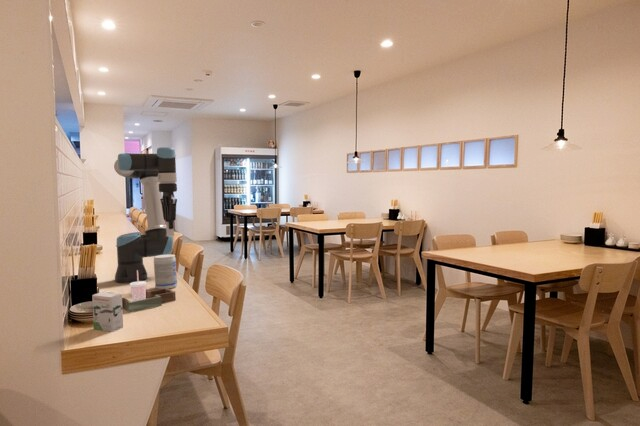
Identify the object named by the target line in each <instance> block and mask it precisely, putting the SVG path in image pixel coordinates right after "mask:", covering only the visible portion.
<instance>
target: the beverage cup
mask: <svg viewBox="0 0 640 426" xmlns="http://www.w3.org/2000/svg"><path fill="white" fill-rule="evenodd" d="M129 286H130V292H131V299H132V301H131V302H133V301H138V300H143V299H146V290H147V287H146V286H147V280H141V281H139V278H138V270H137V281H136V282H129Z"/></svg>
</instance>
